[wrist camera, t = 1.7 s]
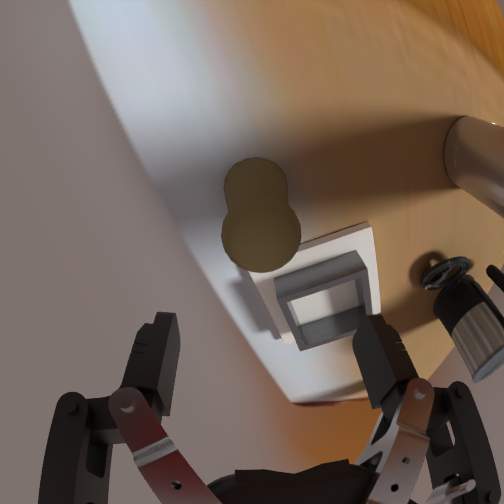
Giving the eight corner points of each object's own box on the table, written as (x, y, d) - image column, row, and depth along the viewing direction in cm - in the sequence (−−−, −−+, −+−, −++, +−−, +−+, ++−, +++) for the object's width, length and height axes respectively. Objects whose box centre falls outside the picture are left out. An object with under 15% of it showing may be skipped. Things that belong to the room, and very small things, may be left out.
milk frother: (457, 314, 38) (494, 375, 26) (393, 322, 37) (429, 401, 25) (492, 248, 31) (545, 307, 18) (429, 242, 30) (495, 322, 17)
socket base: (367, 221, 28) (371, 226, 27) (377, 306, 35) (380, 312, 34) (247, 262, 30) (247, 269, 29) (284, 337, 37) (285, 344, 36)
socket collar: (356, 249, 28) (367, 268, 26) (365, 307, 33) (373, 326, 30) (273, 277, 30) (276, 299, 27) (296, 330, 35) (300, 351, 32)
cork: (274, 223, 28) (289, 295, 19) (216, 206, 27) (202, 274, 17) (296, 169, 25) (328, 219, 16) (234, 149, 24) (228, 188, 14)
